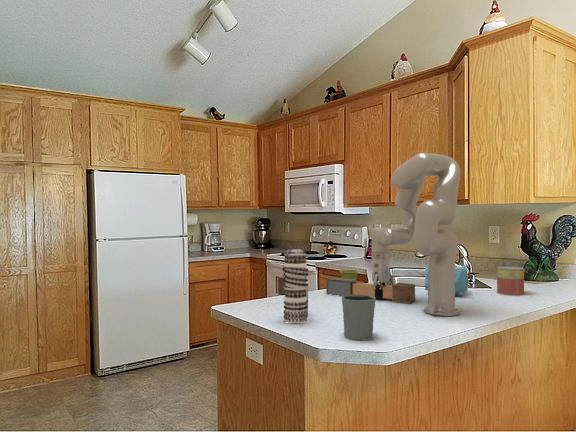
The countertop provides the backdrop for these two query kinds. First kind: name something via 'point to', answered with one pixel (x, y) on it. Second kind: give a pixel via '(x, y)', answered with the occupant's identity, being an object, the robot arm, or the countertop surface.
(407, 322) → the countertop surface
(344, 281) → the grey rectangular block
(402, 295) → the walnut socket
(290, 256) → the decorative candle
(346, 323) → the grey green cup
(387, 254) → the robot arm
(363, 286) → the light brown wooden bar
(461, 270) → the teakettle
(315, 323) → the countertop surface
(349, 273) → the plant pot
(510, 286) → the canned food
